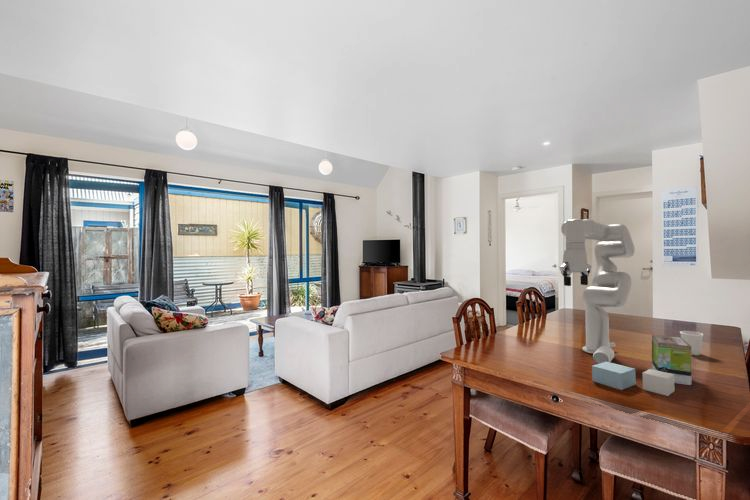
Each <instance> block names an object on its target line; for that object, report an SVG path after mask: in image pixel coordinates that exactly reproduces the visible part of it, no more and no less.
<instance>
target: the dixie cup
mask: <svg viewBox="0 0 750 500" xmlns="http://www.w3.org/2000/svg"><path fill="white" fill-rule="evenodd" d="M679 333H680V338H683V339H684V340H685V341H686V342H687V343H689V344H690V345H691V350H692V355H691V356H700V355H701V351H702V345H703V344H702V343H703V338H704V334H703V333H702V332H699V331H698V332H697V331H690V330H681V331H679Z"/></svg>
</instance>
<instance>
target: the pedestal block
mask: <svg viewBox="0 0 750 500" xmlns="http://www.w3.org/2000/svg"><path fill="white" fill-rule="evenodd" d="M591 376H592V378H591V381H592V382H595V383H597V384H600V385H603V386H604V385H605V386H608V387H610V388H614V389H616V390H621V391H623V390H625V389H627V388H631V387H633V386H636V380H637V379H636V368H634V367H630V366H625V365H622V364H617V363H614V362H603V363H600V364H596V363H595V364H594V365H591Z"/></svg>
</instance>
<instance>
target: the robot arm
mask: <svg viewBox="0 0 750 500" xmlns="http://www.w3.org/2000/svg"><path fill="white" fill-rule="evenodd" d="M560 230H561V233H562V235H563V236H564V237H565V250H563V256H562V265H560V266H559V270H560V273H561V275H562V277H563V286H565V287H567V286H568V287H571V286H572V276H571V275H572V273H580V285H581V286H588V285H589V276H590V273H591V270H592V265H591V264H588V255H587V250H586V240H592V241H598V243H596V244H595V246H594V249H593V250H594V257H595V261H596V264H597V265H596V266H597V267H596V269H595V272H594V275H593V276H592V281H591V284H592V286H588V287H586V288H584V289H583V291H582V297H583V298H582V300H583V303H584V312H585V314H584V315H585V345H584V346H582V351H583V352H585V353H588V354H594V353H595V352H596V351H597V350H598V349H599V348H600V347H601V346H608V347H610V348H611V349H612V347H616V343H615V342H610V326H609V325H610V324H609V322H610V319H609V317H610V316H609V314H608V313H607V311H606V310H605V308H610V309H622V308H624V307H625V305H626V303H627V300H628V297H629V295H630V292H631V287H632V278H631V276H630V274H628V273H627V272H625V271H618V267H617V265H616V264H615V262H614V261H612V260H611V259H613V258H615V259H617V258H618V259H619V258H622V259H623V258H624V259H625V258H627V259H628V258H631V257H633V256H634V254H635V245H634V242H633V239H632V236H631V233H630V231H629V228H628V227H627V226H626V225H625V224H622V223H614V224H605V223H604V224H603V223H600V222H596V221H595V220H593V219H589V218H586V219H581V218H573V219H572V218H571V219H567V220H565V221H564V222H563V223H562V224H561V228H560Z"/></svg>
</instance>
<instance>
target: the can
mask: <svg viewBox="0 0 750 500" xmlns="http://www.w3.org/2000/svg"><path fill="white" fill-rule="evenodd" d="M614 358H615V351H614V350H613V348H612V347H611V348H610V347H608V346H601V347H600V348H599V349H598V350H597V351H596V352H595V353H594V354H593V355H592V359H593V361H594V363H595V365H596V364H600V363H603V362H610V363H612V360H613V359H614Z"/></svg>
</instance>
